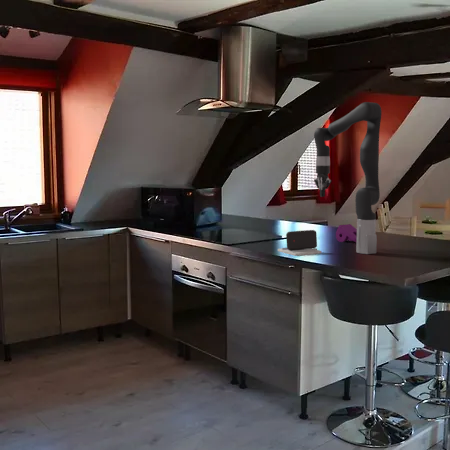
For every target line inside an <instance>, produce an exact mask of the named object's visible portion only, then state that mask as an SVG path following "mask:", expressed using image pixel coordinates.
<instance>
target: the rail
mask: <svg viewBox="0 0 450 450" xmlns="http://www.w3.org/2000/svg"><path fill="white" fill-rule="evenodd" d="M281 248H282V250H287V247H281ZM313 250H318V248H317V247H316V248H312V249H303V250H293V251H292V252H303V251H313Z"/></svg>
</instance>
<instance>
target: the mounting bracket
mask: <svg viewBox="0 0 450 450" xmlns="http://www.w3.org/2000/svg"><path fill="white" fill-rule="evenodd" d="M335 239H336V240H337V242H339V243H344V242H347V241H348V240H349V241H350V242H355V243H356V242H357V227H355V226H353V225H352V224H351V223H349V224H338V226H337V229H336V231H335ZM349 241H348V242H349Z"/></svg>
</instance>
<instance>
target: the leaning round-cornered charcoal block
mask: <svg viewBox="0 0 450 450" xmlns="http://www.w3.org/2000/svg"><path fill="white" fill-rule="evenodd" d="M285 237H286V248H287V249H288V250H300V249H314V248H317V247H318V239H317V231H316V230H314V229H307V230H294V231H288V232H286V235H285Z"/></svg>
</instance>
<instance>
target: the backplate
mask: <svg viewBox="0 0 450 450" xmlns="http://www.w3.org/2000/svg"><path fill="white" fill-rule="evenodd" d="M282 248H283V247H281V248H277V252H280V253H283V254H286V255H287V254H288V255H291V256H294V257H296V256H297V257H299V256H306V255H308V256H309V255H318V254H322V250H320V249H317V250H313V251H303V252H292V251H293V250H288V249H287V250H282ZM300 250H303V249H300Z"/></svg>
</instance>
